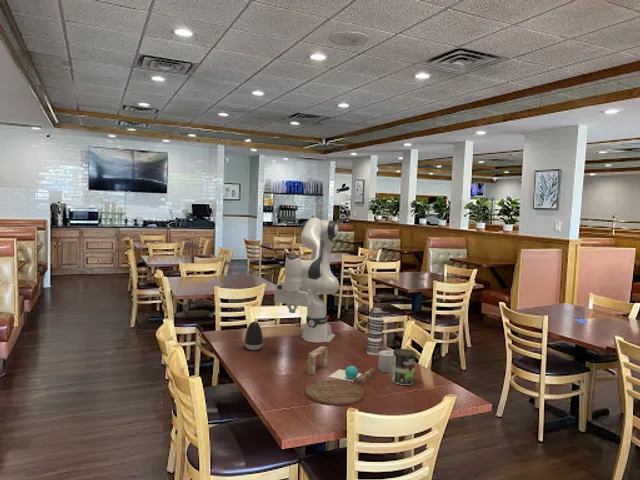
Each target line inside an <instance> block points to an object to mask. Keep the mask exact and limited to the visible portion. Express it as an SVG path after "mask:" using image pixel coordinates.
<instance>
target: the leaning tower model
mask: <svg viewBox="0 0 640 480" xmlns="http://www.w3.org/2000/svg"><path fill="white" fill-rule="evenodd" d="M368 312H369V313H368V318H367V319H366V321H367V323H366V324H367V325H366V327H367V330H366V331H367V339H366V344H367V345H366V353H367V354H368V355H372V356H379V352H380V351H383V332H384V327H383V326H384V325H385V324H384V322H385V321H384V315H383V314H384V310H383V309H382V308H381V307H377V306H374V307H373V306H372V307H371V308H370V309H368Z"/></svg>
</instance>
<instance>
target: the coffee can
mask: <svg viewBox="0 0 640 480" xmlns="http://www.w3.org/2000/svg"><path fill="white" fill-rule="evenodd" d="M392 351H393V353H394V354H393V373H392V374H391V375H392V377H391V381H393V382H394V383H393V382H392V383H393V384H395V383H396V384H395V385H397V384H400V385H399V386H402V385H410V386H412V385H411V384H413V383H414V384H415V371H416V369H415V368H416V355H417V352H415V351H414V350H411V349H405V348H397V349H394V350H392ZM414 384H413V385H414Z"/></svg>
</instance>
